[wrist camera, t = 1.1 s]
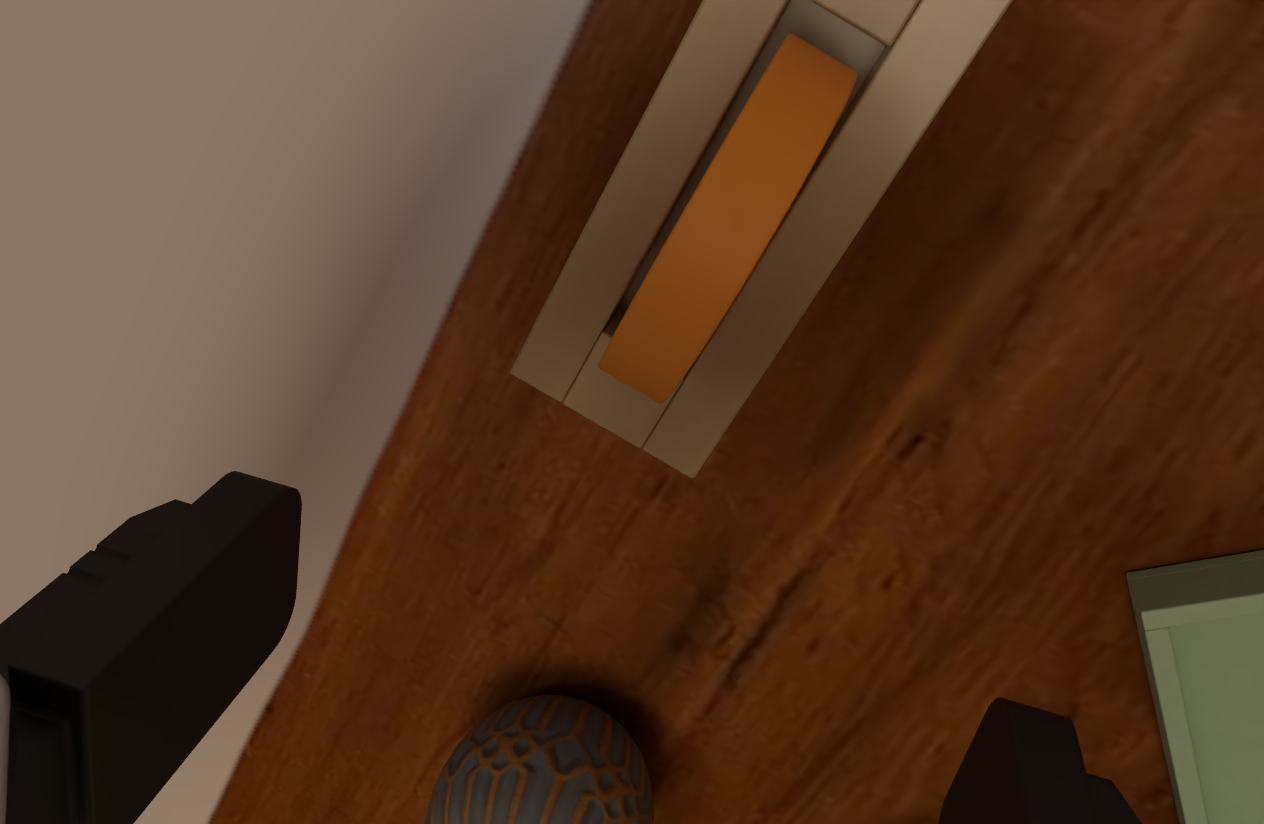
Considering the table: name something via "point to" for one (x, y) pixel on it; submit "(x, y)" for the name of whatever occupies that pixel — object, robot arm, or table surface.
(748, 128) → the token
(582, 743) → the vase
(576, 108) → the table surface
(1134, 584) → the tray
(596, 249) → the holder
